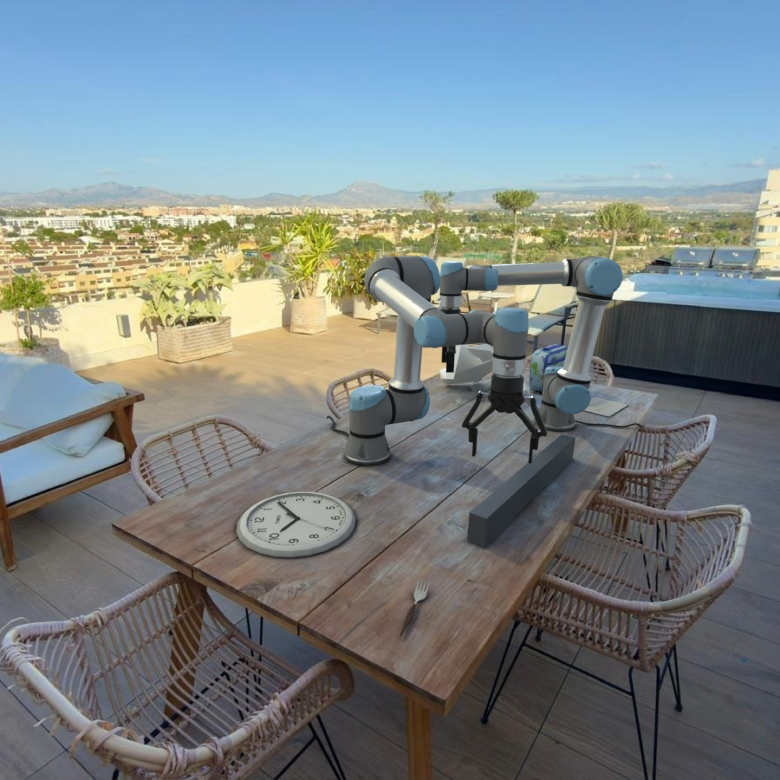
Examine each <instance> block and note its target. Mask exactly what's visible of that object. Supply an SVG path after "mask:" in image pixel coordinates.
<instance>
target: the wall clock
mask: <svg viewBox="0 0 780 780" xmlns="http://www.w3.org/2000/svg"><path fill="white" fill-rule="evenodd" d="M356 522H357V518H356V515H355V512H354V510H353V509H352V508H351V507H350V505H349V504H348V503H346V502H345V501H343V500H341V499H339V497H335V496H332V495H329V494H327V493H321V492H315V491H293V492H285V493H280V494H275V495H273V496H270V497H268V498H264V499H262V500H260V501H259V502H257V503H255V504H253V505H251V506H250V507H249V508H247V510H246V511H245V512H244V513H242V514H241V516H240V518H239V519H238V521H237V523H236V535H237V537H238V540H239V541H240V542H241V544H242V545H244V546H245V547H246V548H248V549H249V550H251V551H253V552H255V553H257V554H261V555H265V556H269V557H273V558H300V557H309V556H312V555H316V554H320V553H323V552H327V551H328V550H331V549H333V548H335V547H337V546H339V545H340V544H342V543H343V542H344V541H345V540H347V539H348V538H349V537H350V536H351V534H352V533H353V531H354V530H355V526H356Z"/></svg>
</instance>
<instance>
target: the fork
mask: <svg viewBox="0 0 780 780" xmlns="http://www.w3.org/2000/svg"><path fill="white" fill-rule="evenodd" d="M420 580H421V577H419V578H418V581H417V585H416V587H415V590H414V592H413V598H414V600H415V601H414V603H413V604H412V606H411V607H410V609H409V611H408V612H407V613H406V616H405V619H404V622H403V624H402V625H403V626H402V628H401V631H400V634H399V636H400V637H402V635H403V634H404V632H405V631H406V629H407V627H408V626H409V624H410V622H411V621H412V619H413V617H414V614H415V610H416V607H417V604H418V602H420V601H423V600H425V599H426V598H427V596H428V591H429V586H430V582H431V581H430V580H431V579H428V583H427V578H426V579H425V580H424V578H422V580H421V583H420ZM423 582H424V584H423ZM426 583H427V586H426ZM419 584H420V585H419ZM422 587H423V588H422Z"/></svg>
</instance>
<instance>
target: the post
mask: <svg viewBox="0 0 780 780" xmlns="http://www.w3.org/2000/svg"><path fill="white" fill-rule="evenodd" d="M575 445H576V437H575V436H571V435H567V434H563V433H561V434H560V435H558V436H557V437H556V438H555V439H553V441H552V442H550V443H549V444H548V445H547V446H545V448H543V449H542V450H541V451H540V452H539V453H537V454H536V455H535V456H533V457H532V463H528V462H527V463H526V464H524V465H523V466H522V467H521V468H520V469H518V470H517V471H515V472H514V473H513V474H512V475H511V476H510V477H509V478H508V479H507V480H505V481H504V482H503V483H502V484H500V485H499V486H498V487H497V488H496V489H494V491H492V492H491V493H490V494H489V495H488V496H486V497H485V498H484V499H483V500H482V501H480V503H478V504H477V505H476V506H475V507H473V509H471V510H469V512H468V523H467V524H468V525H467V536H466V537H467V538H466V540H467V542H469V543H471V544H474V545H477V546H479V547H481V548H486V547H487V546H488V545H489V544H490V543H491V542H492V541H493V540H494V539H495V538H496V537H497V536H498V535H499V534H500V533H501V532H502V531H503V530H504V529H505V528H506V527H507V526H508V525H509V524H510V523H511V522H512V521H513V520H514V519H515V518H516V517H517V516H518V514H520V513H521V512H522V511H523V510H524V509H525V508H526V507H527V506H528V505H529V504H530V503H531V502H532V500H534V499H535V498H536V497H537V496H538V495H539V494H540V493H541V492H542V491H543V490H544V489H545V488H546V487H547V486H548V485H549V484H550V483H551V482H552V481H553V480H554V479H555V478H556V477H557V476H558V475H559V474H560V473H561V472H562V471H563V470H564V469H565V468H566V467H567V466H568V465H569V464H570V463H571V462H572V461H573V460H574V454H575Z"/></svg>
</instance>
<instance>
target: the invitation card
mask: <svg viewBox="0 0 780 780" xmlns="http://www.w3.org/2000/svg"><path fill="white" fill-rule="evenodd" d="M628 406H629V404H627V403H623V402H618V401H614V400H609V399H605V398H601V397H596V396H593V397H591V401H590V404H589V406H588V407H587V408H586V409H585V410H584V411H583V412H587V413H593V414H596V415H600V416H604V417H608V418H609V417H611V416H613V415H614V414H616V413H617V412H619V411H621V410H623V409H624V408H626V407H628Z"/></svg>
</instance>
